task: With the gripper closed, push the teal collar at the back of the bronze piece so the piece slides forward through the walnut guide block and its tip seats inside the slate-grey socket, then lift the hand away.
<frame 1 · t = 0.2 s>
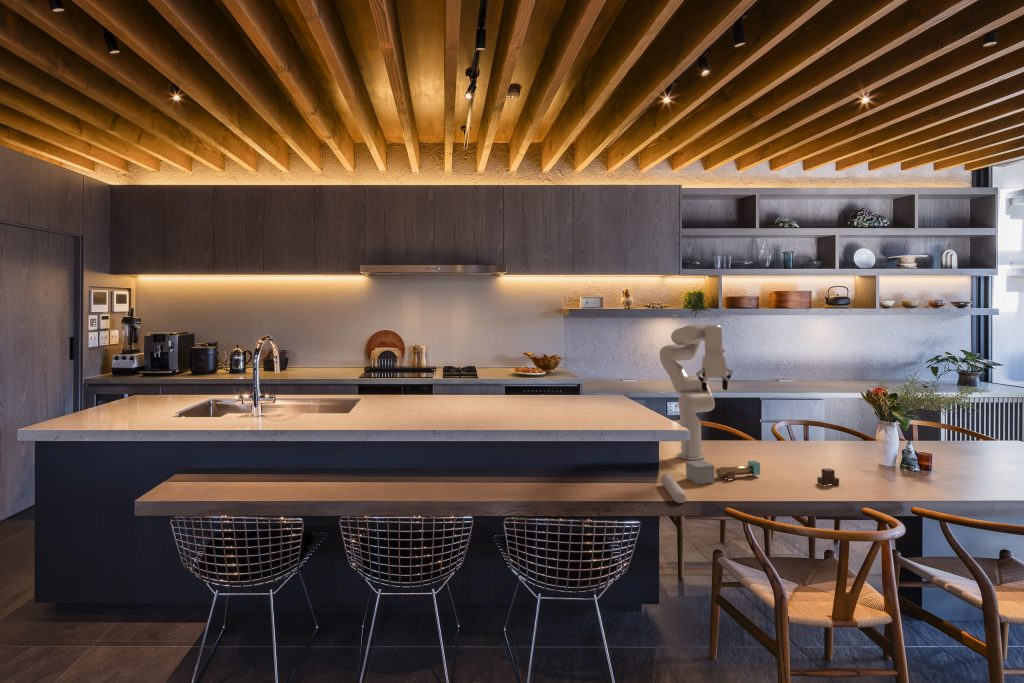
hand: (714, 390, 274), 36 cm above the table, tool pointing down, fingers open, 9 cm apart
guide block: (727, 478, 263), on the table
wooden blocks: (830, 487, 247), on the table
tube: (673, 495, 244), on the table
socket block: (700, 480, 261), on the table
bronze piece: (737, 469, 263), point 4 cm above the table, slide at 0.0 cm
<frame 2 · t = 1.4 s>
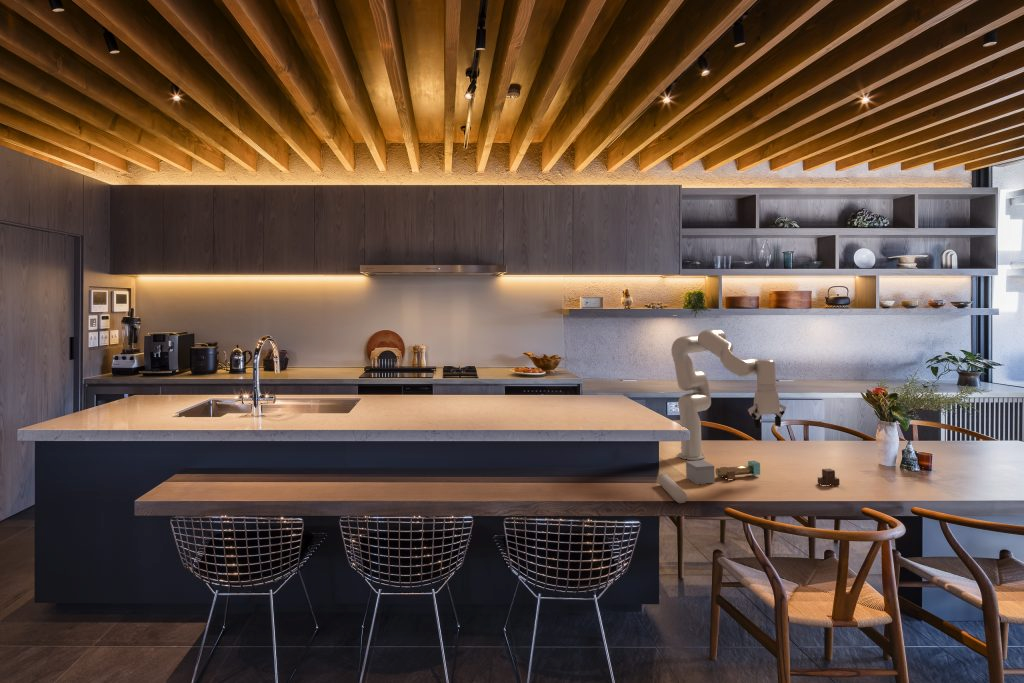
hand: (767, 427, 265), 21 cm above the table, tool pointing down, fingers open, 9 cm apart
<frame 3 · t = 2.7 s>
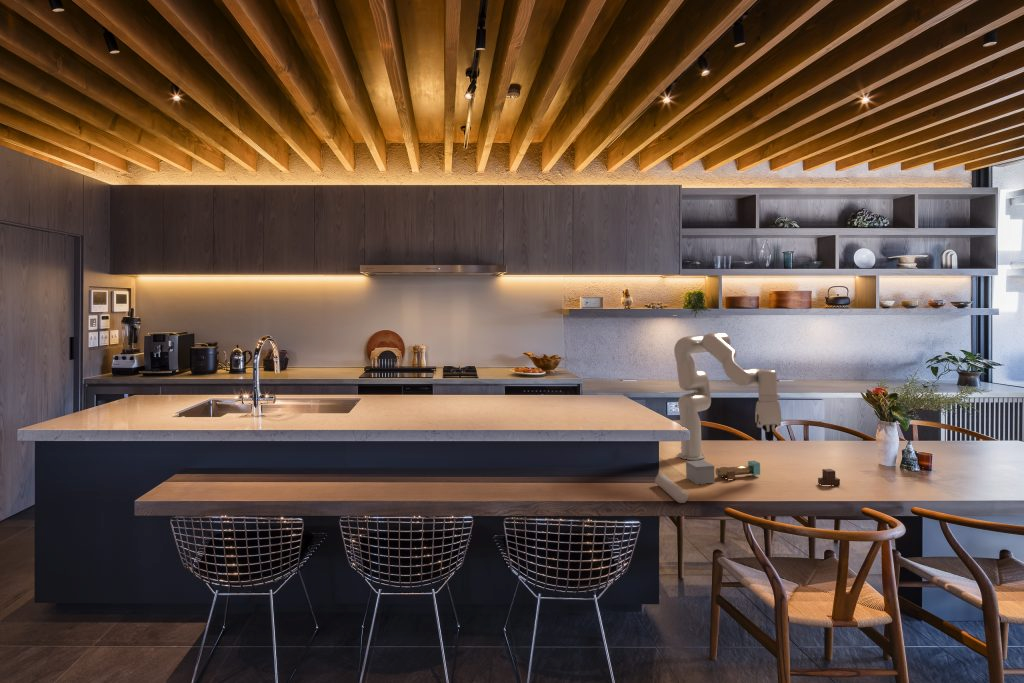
hand: (769, 440, 265), 15 cm above the table, tool pointing down, fingers closed
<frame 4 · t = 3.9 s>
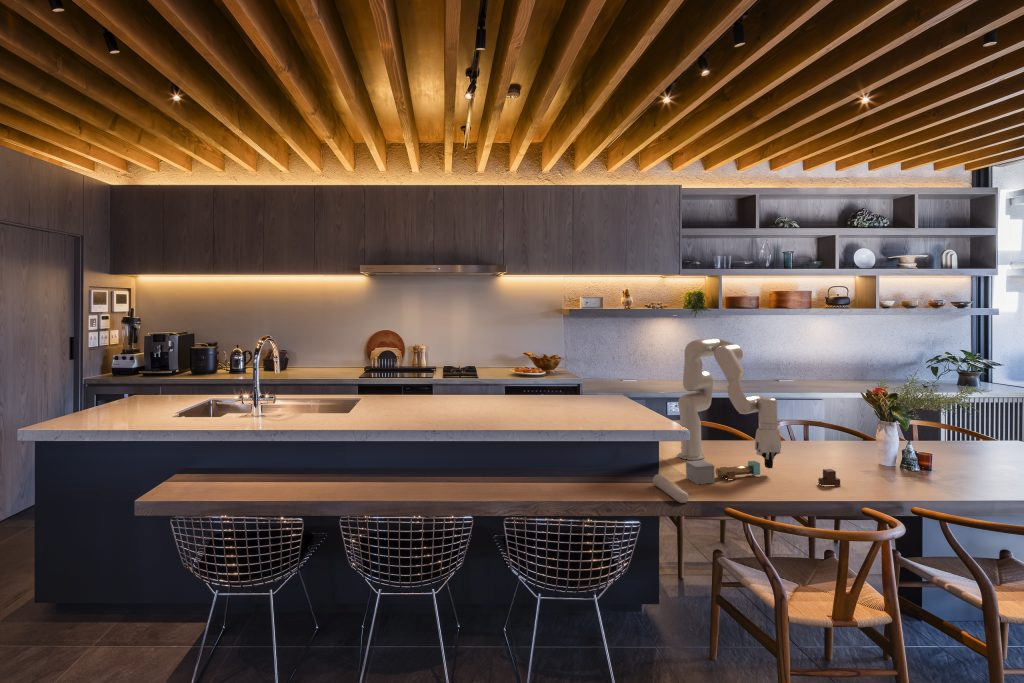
hand: (768, 467, 266), 3 cm above the table, tool pointing down, fingers closed
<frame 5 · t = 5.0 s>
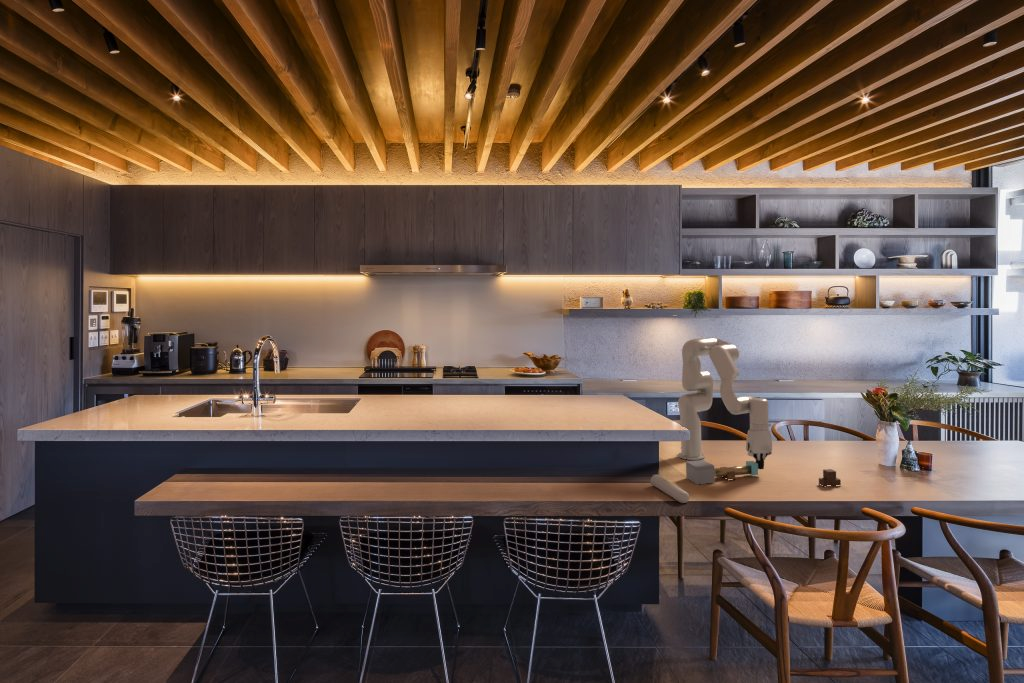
hand: (759, 468, 265), 3 cm above the table, tool pointing down, fingers closed
bronze piece: (735, 469, 263), point 4 cm above the table, slide at 1.0 cm, touching gripper
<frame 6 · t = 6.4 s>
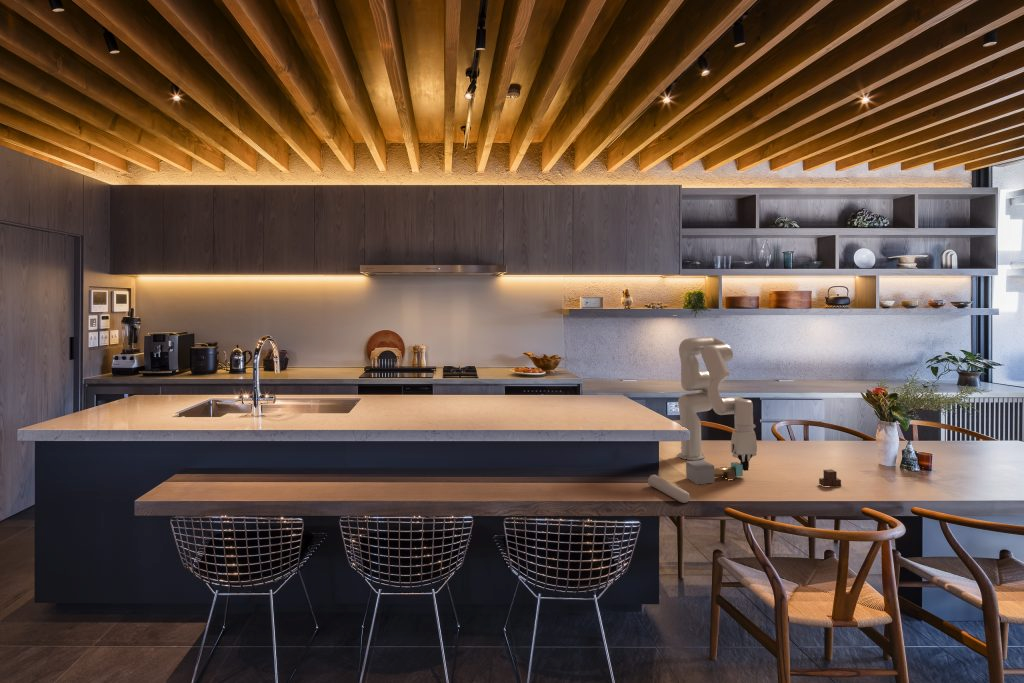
hand: (744, 469, 264), 3 cm above the table, tool pointing down, fingers closed
bronze piece: (719, 470, 262), point 4 cm above the table, slide at 8.1 cm, touching gripper
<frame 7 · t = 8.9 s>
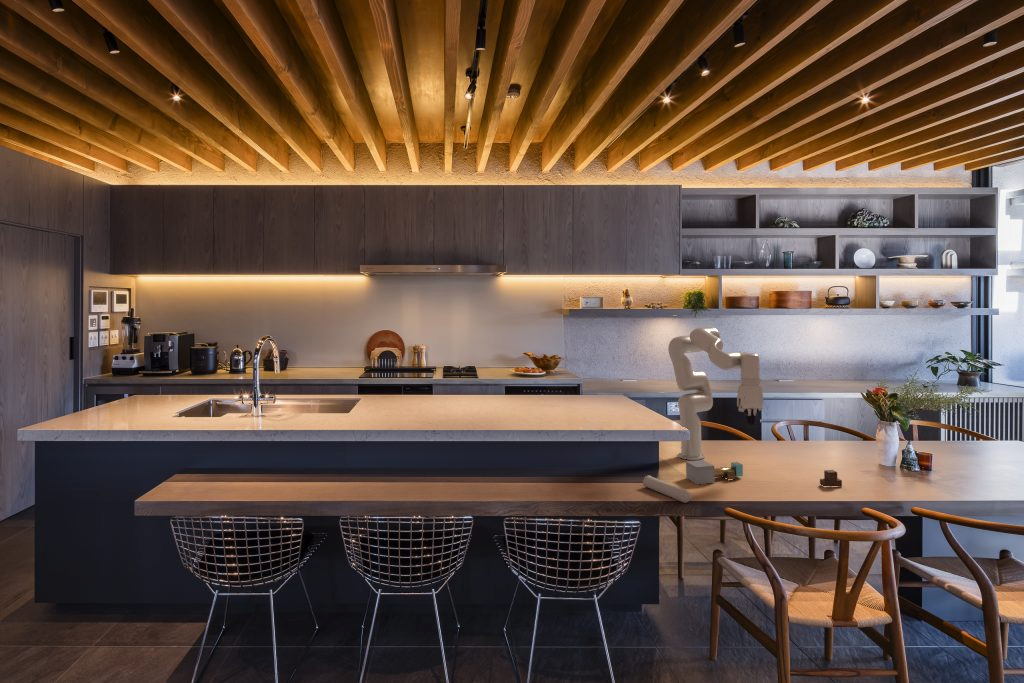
hand: (750, 424, 263), 23 cm above the table, tool pointing down, fingers closed
bronze piece: (720, 470, 262), point 4 cm above the table, slide at 8.0 cm
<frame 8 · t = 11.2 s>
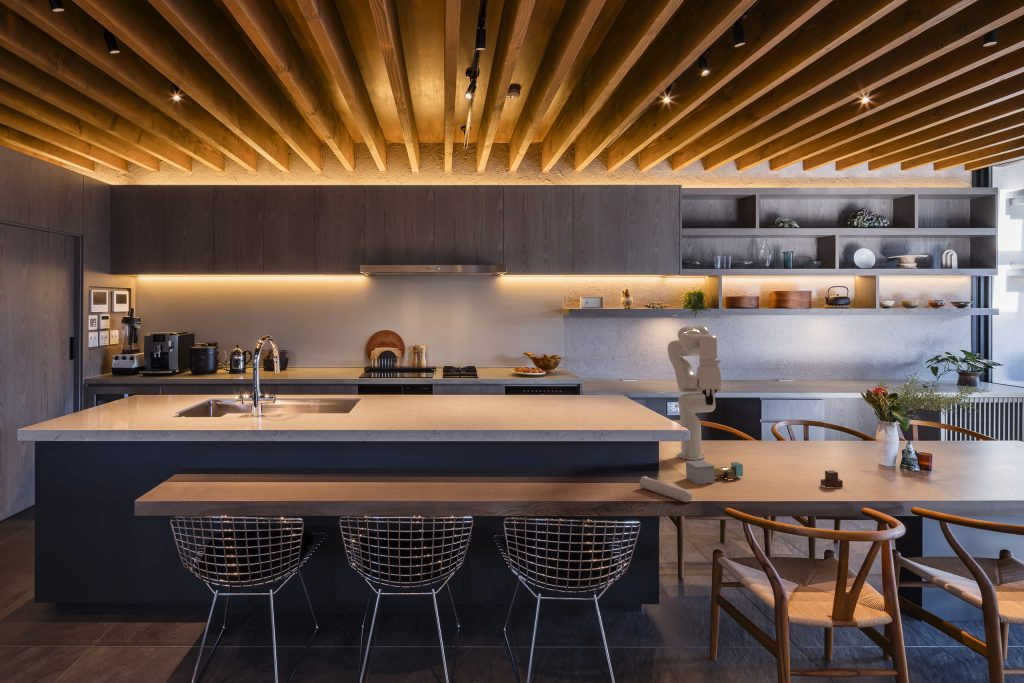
hand: (709, 404, 268), 31 cm above the table, tool pointing down, fingers closed
at the end: bronze piece slide at 8.0 cm; the gripper is holding nothing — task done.
